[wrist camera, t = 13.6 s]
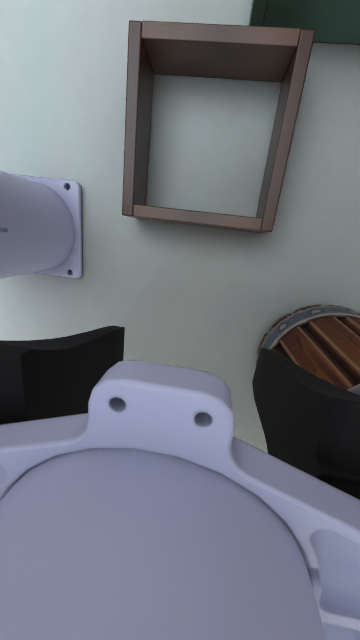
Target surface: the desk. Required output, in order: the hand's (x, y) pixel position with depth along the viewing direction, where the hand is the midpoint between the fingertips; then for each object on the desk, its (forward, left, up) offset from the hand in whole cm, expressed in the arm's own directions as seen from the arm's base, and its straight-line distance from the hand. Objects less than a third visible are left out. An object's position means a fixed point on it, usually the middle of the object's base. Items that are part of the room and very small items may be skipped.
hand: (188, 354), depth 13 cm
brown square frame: (-1, +12, -10) cm, 16 cm away
